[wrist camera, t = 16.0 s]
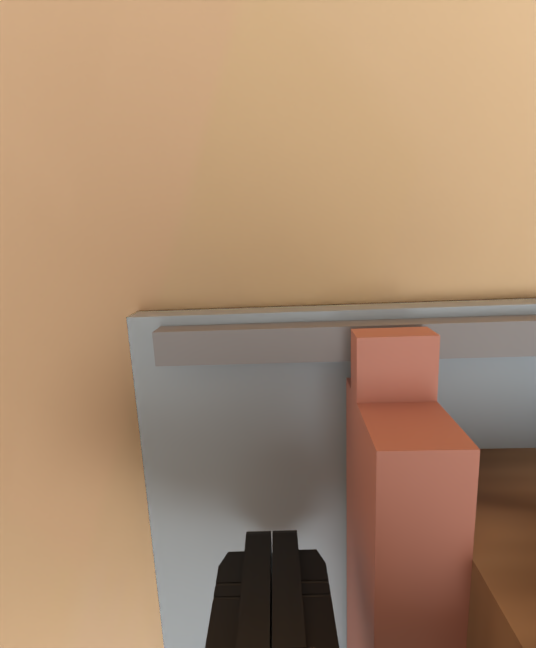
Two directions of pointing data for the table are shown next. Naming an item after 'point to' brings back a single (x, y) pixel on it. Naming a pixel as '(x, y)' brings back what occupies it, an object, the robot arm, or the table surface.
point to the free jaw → (406, 497)
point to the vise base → (292, 426)
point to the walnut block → (504, 551)
